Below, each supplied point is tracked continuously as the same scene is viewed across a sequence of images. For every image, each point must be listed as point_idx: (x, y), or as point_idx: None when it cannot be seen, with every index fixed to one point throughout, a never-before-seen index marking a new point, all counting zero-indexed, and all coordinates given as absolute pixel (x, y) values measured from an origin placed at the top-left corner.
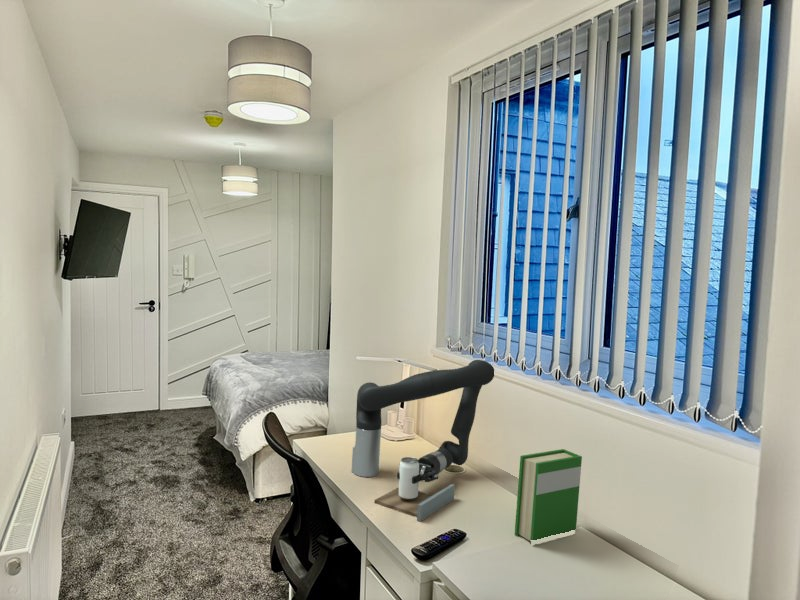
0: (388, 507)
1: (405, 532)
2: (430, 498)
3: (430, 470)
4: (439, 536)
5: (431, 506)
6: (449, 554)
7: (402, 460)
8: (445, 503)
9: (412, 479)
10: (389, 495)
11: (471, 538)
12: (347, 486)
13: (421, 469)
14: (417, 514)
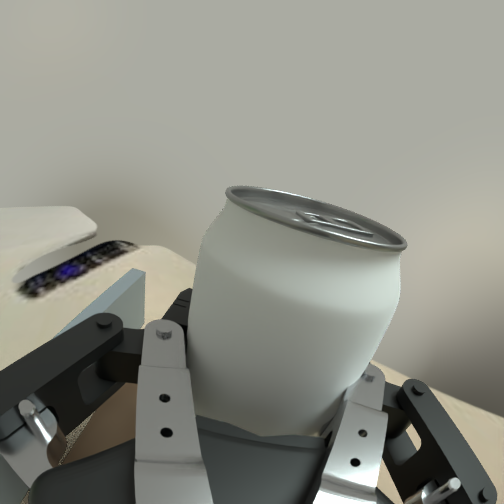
0: None
1: (165, 277)
2: (92, 312)
3: (62, 465)
4: (82, 272)
5: None
6: (76, 238)
7: (369, 230)
8: None
9: None
10: None
11: (13, 270)
12: (483, 424)
13: (183, 379)
14: (143, 304)
